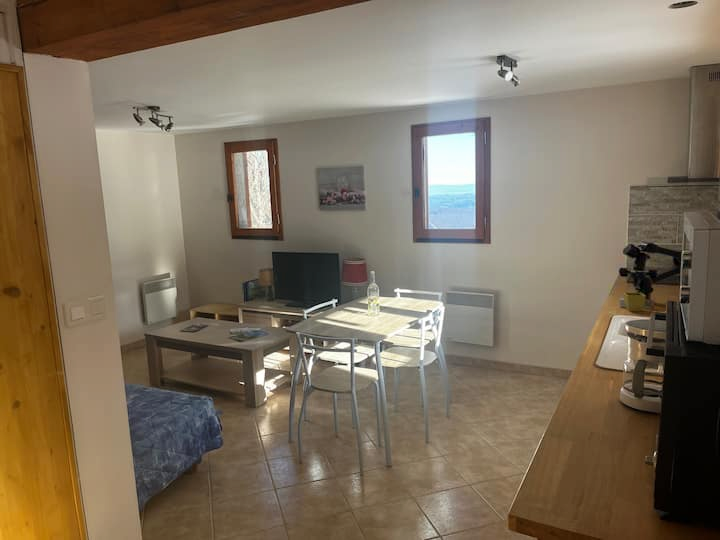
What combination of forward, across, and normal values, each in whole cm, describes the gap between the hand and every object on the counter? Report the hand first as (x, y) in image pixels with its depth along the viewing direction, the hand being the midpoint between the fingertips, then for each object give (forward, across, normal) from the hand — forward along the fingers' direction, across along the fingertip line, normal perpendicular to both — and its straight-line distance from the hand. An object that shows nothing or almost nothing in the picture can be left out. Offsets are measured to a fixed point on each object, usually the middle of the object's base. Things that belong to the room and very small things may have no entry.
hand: (635, 286), depth 292 cm
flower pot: (+16, -2, +1) cm, 16 cm away
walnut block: (+10, -6, -6) cm, 13 cm away
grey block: (+11, +4, -4) cm, 13 cm away
